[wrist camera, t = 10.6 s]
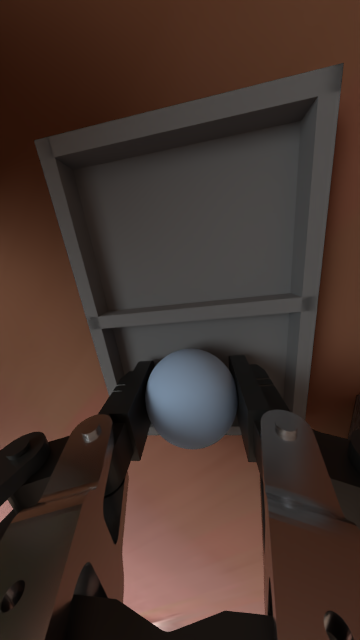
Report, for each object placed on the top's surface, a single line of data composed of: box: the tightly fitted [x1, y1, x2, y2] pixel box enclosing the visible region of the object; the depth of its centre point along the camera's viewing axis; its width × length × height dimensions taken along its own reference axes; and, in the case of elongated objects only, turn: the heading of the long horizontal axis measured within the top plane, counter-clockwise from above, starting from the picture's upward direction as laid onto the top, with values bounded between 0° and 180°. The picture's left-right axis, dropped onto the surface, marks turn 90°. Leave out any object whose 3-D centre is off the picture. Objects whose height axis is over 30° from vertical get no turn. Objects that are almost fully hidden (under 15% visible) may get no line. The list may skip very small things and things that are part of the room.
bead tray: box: [34, 63, 344, 435], centre depth 9 cm, size 10×14×2 cm
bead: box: [145, 349, 238, 449], centre depth 8 cm, size 4×4×4 cm
